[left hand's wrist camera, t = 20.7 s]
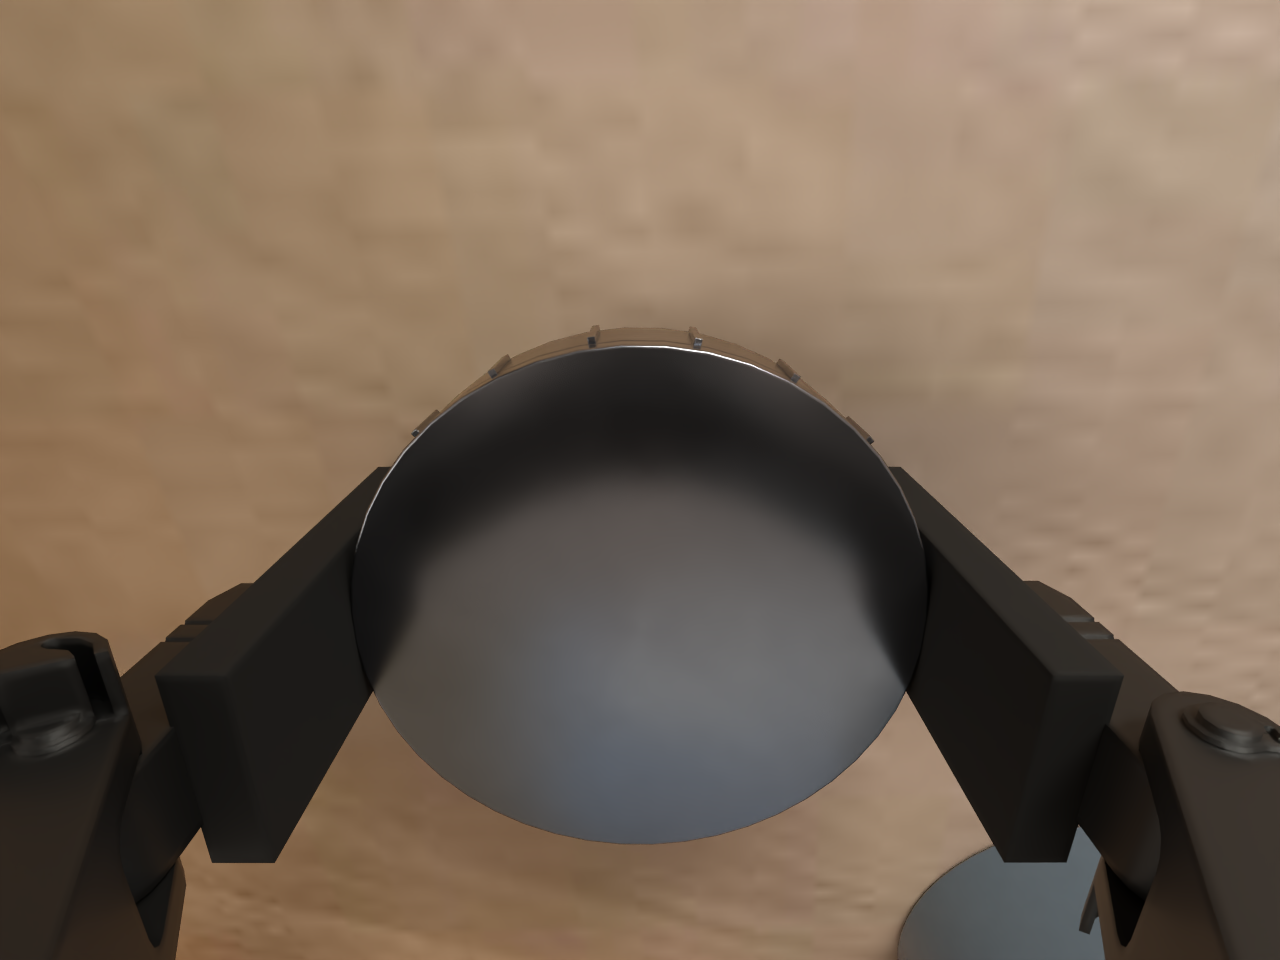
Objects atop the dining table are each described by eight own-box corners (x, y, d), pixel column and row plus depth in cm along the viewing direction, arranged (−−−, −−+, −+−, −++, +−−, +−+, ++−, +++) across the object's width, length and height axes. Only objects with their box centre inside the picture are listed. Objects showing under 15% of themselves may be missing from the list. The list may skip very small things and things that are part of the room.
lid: (934, 713, 13) (973, 779, 11) (500, 822, 14) (482, 896, 12) (836, 244, 10) (872, 247, 8) (290, 425, 11) (233, 458, 9)
